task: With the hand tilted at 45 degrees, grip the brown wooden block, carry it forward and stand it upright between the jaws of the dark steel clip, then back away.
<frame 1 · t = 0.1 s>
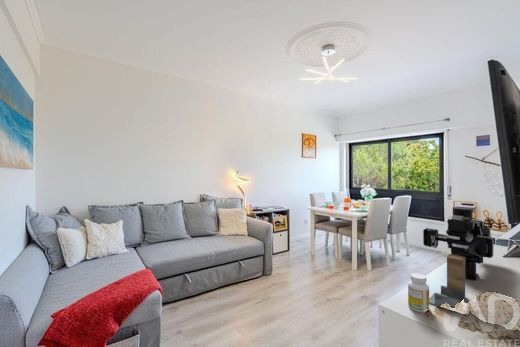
hand: (449, 247, 80), 17 cm above the table, tool horizontal, fingers open, 9 cm apart
clip: (449, 304, 78), on the table
brown wooden block: (456, 296, 82), on the table
supplement bottle: (418, 308, 76), on the table
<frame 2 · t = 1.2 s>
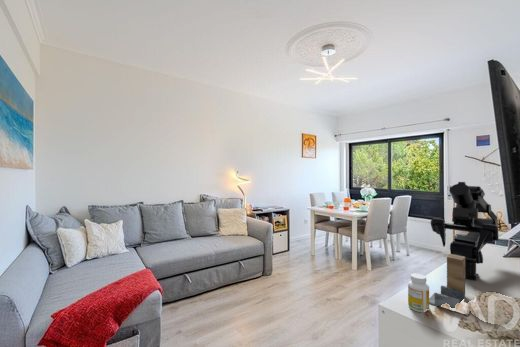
hand: (460, 248, 88), 14 cm above the table, tool tilted 45°, fingers open, 9 cm apart
nothing on the table moved.
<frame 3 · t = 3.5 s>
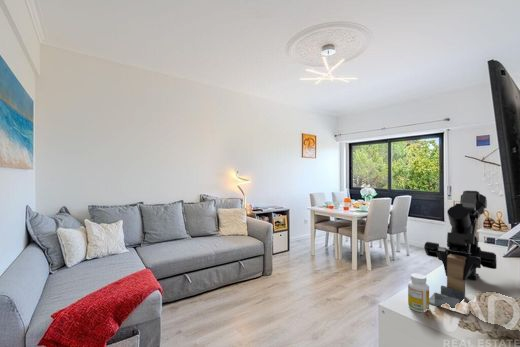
hand: (455, 277, 81), 7 cm above the table, tool tilted 45°, fingers closed on brown wooden block, 4 cm apart
brown wooden block: (456, 296, 82), on the table, touching gripper
everything else where it was.
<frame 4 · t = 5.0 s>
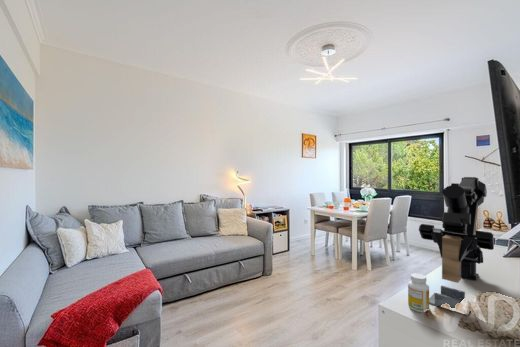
hand: (450, 258, 78), 14 cm above the table, tool tilted 45°, fingers closed on brown wooden block, 4 cm apart
brown wooden block: (451, 278, 79), point 7 cm above the table, touching gripper
everything else where it was.
when the fingers open (8 cm above the table, at t = 6.9 s): brown wooden block stays where it is, resting on clip.
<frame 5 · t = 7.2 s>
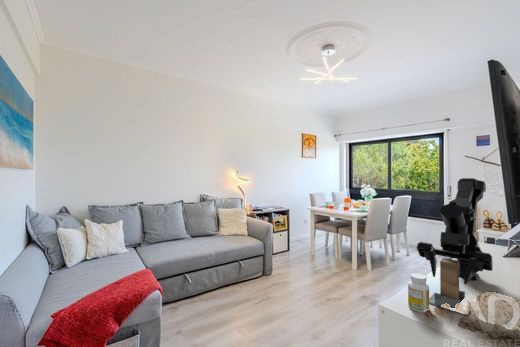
hand: (448, 280, 77), 8 cm above the table, tool tilted 45°, fingers open, 7 cm apart
brown wooden block: (449, 302, 78), resting on clip
everything else where it was.
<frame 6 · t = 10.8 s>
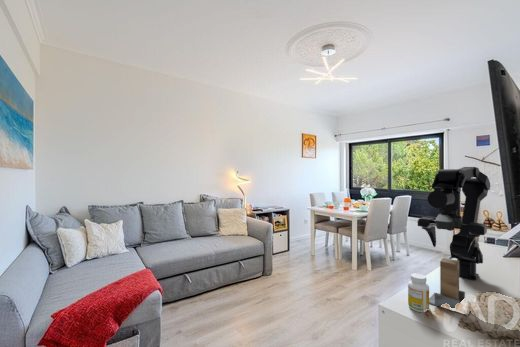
hand: (450, 249, 89), 13 cm above the table, tool pointing down, fingers open, 9 cm apart
nothing on the table moved.
at the end: brown wooden block 0.0 cm off-centre on the clip, point 0.4 cm above the clip's base; brown wooden block tilted 0°; the gripper is holding nothing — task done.
